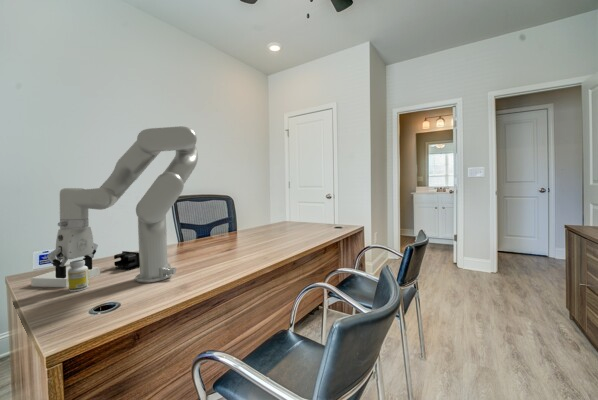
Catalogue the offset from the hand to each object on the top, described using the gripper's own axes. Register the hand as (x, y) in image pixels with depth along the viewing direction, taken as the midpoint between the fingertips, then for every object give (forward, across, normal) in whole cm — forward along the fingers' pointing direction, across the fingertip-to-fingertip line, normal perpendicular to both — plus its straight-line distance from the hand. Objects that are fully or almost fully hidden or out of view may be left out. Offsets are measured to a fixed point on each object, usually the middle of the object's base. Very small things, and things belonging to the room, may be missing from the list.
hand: (74, 273), depth 92 cm
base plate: (+6, +9, +12) cm, 16 cm away
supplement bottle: (+6, +1, -1) cm, 6 cm away
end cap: (+5, +26, 0) cm, 26 cm away
